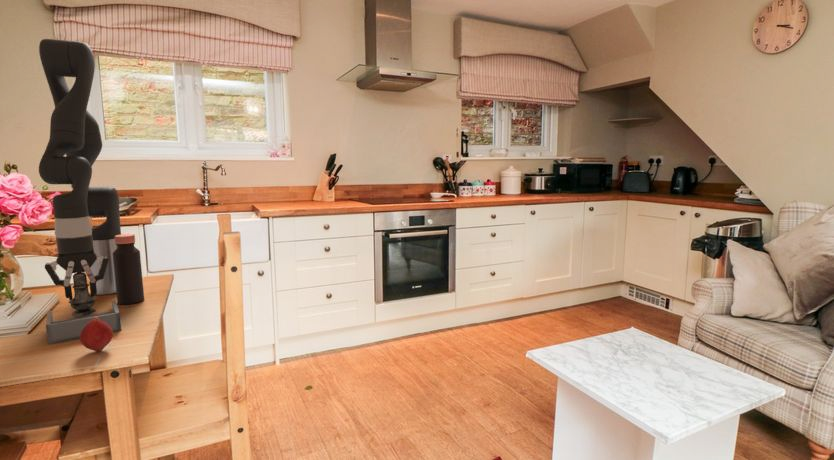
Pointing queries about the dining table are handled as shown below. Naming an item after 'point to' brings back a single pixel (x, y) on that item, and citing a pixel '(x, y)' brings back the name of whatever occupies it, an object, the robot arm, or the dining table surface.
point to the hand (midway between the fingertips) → (81, 297)
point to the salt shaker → (81, 296)
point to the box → (78, 325)
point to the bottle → (127, 270)
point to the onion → (96, 335)
